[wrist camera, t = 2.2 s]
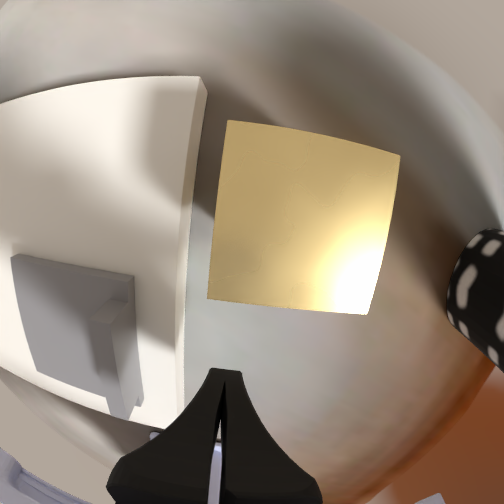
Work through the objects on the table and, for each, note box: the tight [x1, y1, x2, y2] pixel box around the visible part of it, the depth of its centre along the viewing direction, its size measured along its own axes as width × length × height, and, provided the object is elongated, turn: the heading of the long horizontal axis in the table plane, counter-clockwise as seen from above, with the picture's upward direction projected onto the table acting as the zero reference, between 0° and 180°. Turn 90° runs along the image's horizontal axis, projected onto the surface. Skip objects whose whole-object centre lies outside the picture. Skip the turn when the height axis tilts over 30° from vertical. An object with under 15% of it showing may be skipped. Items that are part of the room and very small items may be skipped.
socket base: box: [0, 76, 208, 429], centre depth 13 cm, size 20×18×2 cm
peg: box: [207, 120, 400, 314], centre depth 10 cm, size 4×4×8 cm
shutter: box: [10, 254, 144, 421], centre depth 11 cm, size 8×8×3 cm
